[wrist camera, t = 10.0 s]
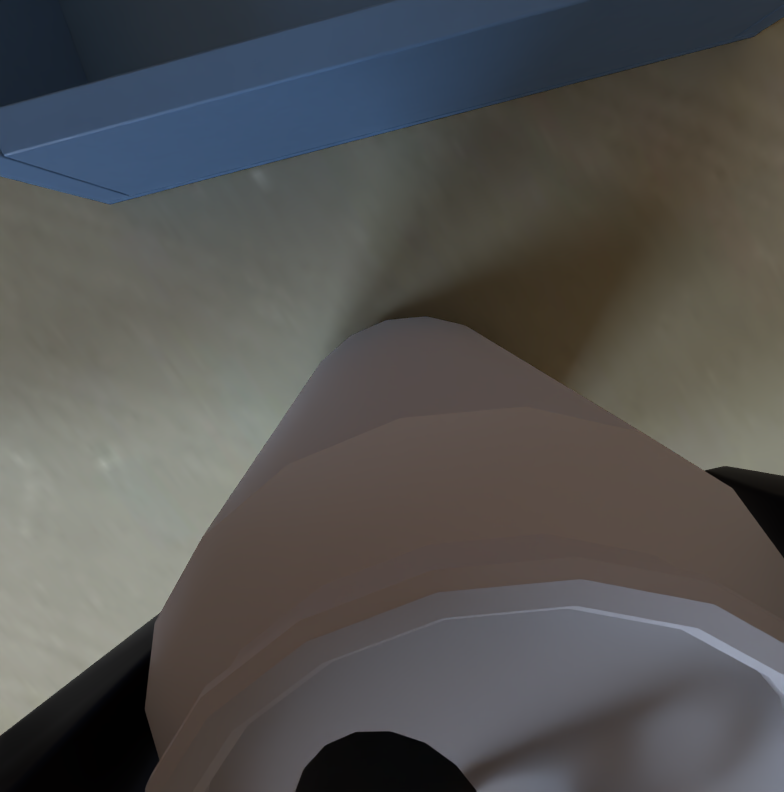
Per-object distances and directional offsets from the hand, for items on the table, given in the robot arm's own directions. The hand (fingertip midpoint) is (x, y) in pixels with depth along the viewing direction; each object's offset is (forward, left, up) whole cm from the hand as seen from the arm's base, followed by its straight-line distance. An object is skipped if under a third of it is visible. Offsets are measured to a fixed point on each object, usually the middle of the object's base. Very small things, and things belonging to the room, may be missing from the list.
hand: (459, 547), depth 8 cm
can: (0, 0, -7) cm, 7 cm away
